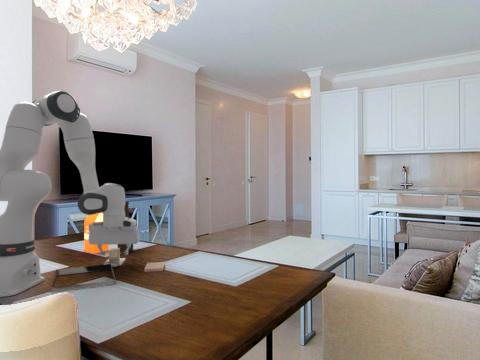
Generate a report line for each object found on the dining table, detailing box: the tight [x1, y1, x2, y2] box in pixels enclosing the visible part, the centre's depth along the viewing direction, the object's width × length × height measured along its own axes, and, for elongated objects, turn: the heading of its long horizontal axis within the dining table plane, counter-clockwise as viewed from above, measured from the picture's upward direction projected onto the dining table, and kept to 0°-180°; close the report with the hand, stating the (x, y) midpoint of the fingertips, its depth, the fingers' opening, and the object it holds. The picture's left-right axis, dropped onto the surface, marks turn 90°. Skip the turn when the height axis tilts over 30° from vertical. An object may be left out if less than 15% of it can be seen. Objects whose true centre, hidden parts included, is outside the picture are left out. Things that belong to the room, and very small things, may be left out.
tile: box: [144, 261, 166, 273], centre depth 135 cm, size 2×7×9 cm
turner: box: [102, 247, 121, 268], centre depth 141 cm, size 12×6×5 cm, turn 7°
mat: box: [106, 257, 126, 267], centre depth 143 cm, size 10×7×1 cm
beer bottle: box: [116, 200, 134, 253], centre depth 165 cm, size 8×8×24 cm
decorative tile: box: [49, 263, 116, 293], centre depth 121 cm, size 20×3×20 cm
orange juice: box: [83, 213, 110, 254], centre depth 165 cm, size 8×9×20 cm
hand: (114, 254), depth 143 cm, fingers open, 8 cm apart
